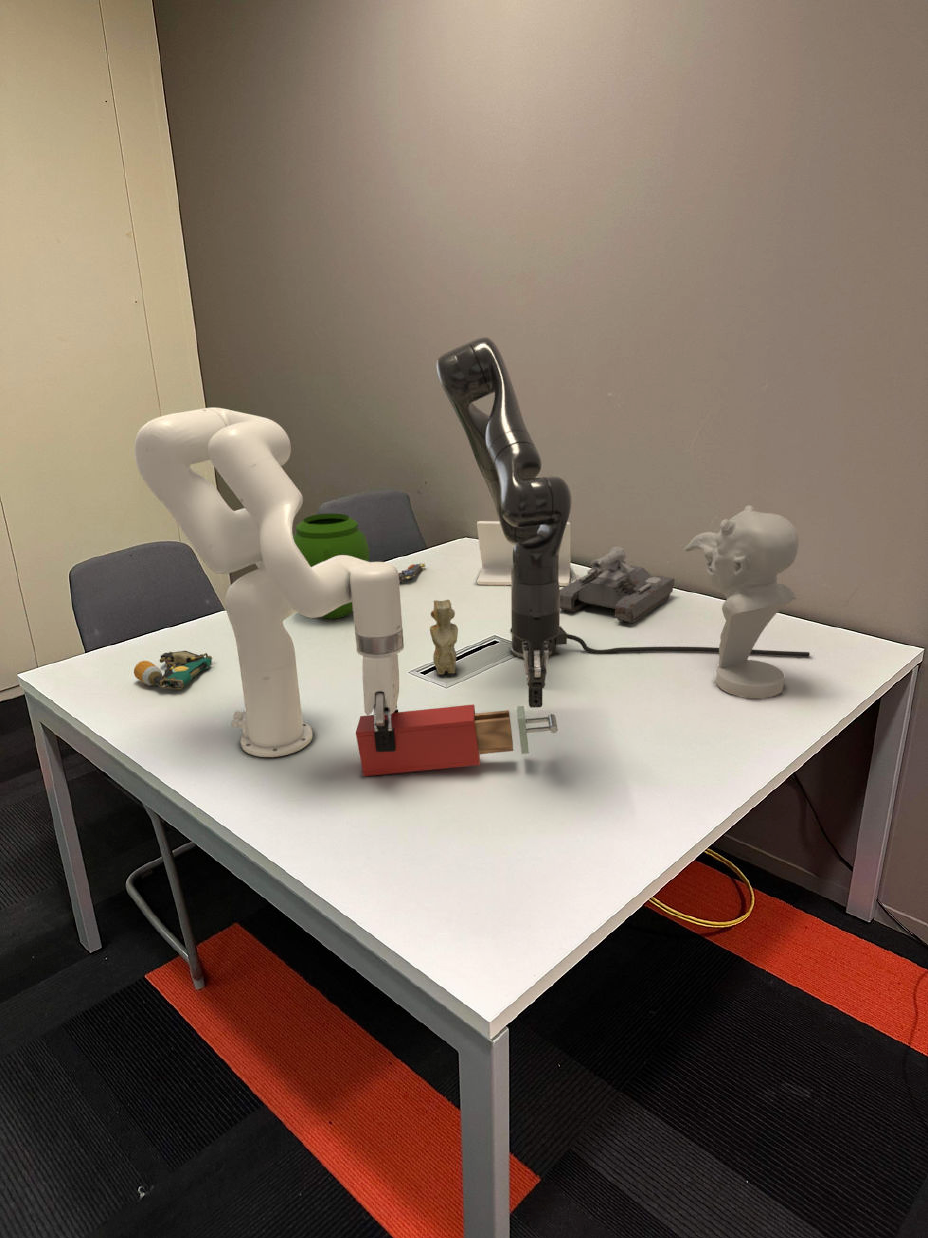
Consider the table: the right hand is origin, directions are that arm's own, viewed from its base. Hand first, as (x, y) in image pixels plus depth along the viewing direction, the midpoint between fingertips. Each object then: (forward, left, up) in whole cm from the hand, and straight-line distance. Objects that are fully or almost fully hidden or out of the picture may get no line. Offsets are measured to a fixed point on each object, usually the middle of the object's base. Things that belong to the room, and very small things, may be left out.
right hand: (535, 705), depth 139 cm
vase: (+29, -83, -11) cm, 88 cm away
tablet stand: (-25, -100, -11) cm, 104 cm away
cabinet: (+18, -4, -10) cm, 21 cm away
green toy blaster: (+63, -53, -11) cm, 84 cm away
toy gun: (+8, -108, -11) cm, 109 cm away
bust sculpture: (-47, -22, -11) cm, 53 cm away
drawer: (+8, -1, -8) cm, 11 cm away
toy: (-41, -70, -11) cm, 82 cm away
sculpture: (+8, -41, -11) cm, 43 cm away
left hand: (+24, -5, -6) cm, 25 cm away
